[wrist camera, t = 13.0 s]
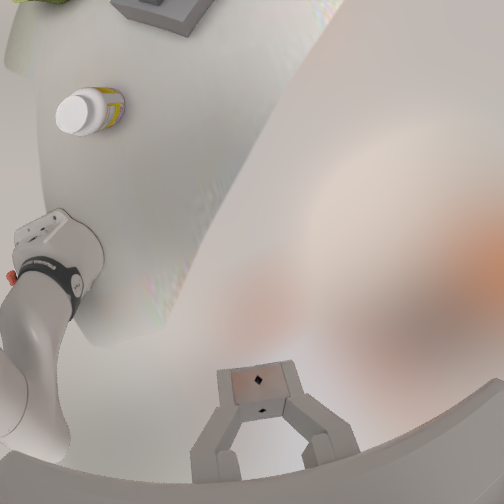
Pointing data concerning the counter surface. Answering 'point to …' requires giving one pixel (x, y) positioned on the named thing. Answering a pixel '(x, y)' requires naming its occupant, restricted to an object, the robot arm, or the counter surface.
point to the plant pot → (51, 0)
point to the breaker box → (165, 13)
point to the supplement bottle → (89, 110)
